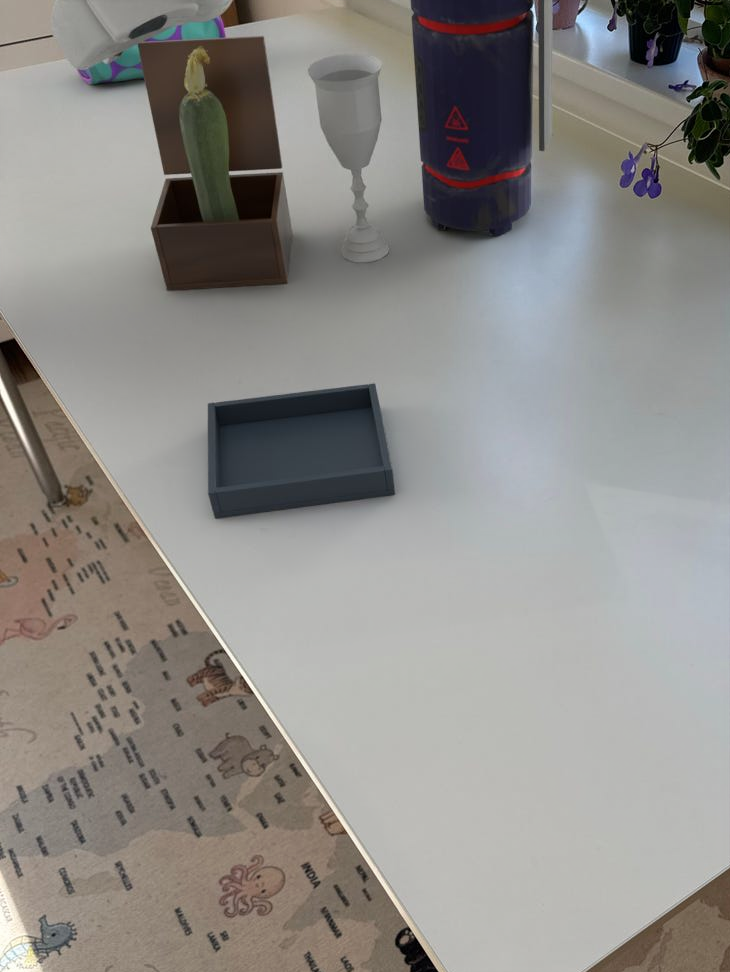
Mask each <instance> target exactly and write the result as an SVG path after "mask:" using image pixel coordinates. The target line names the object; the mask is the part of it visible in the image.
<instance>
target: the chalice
mask: <svg viewBox="0 0 730 972" xmlns="http://www.w3.org/2000/svg"><path fill="white" fill-rule="evenodd" d="M382 67H383V62H382V61H381V60H380V59H379V58H377V57H375V56H372V55H369V54H362V53H344V54H336V55H332V56H327V57H324V58H321V59H319V60H316V61H314V62H313V63H311V64H310V65H309V66H308V68H307V74H308V76H309V77H310V79H311V80H312V82H313V84H314V88H315V95H316V104H317V111H318V120H319V126H320V129H321V131H322V133H323V135H324V137H325V140H326V142H327V144H328V146H329V148H330V150H332V153H333V154H334V156H335V157H336V159H337V161H338V162H339V165H341V167H342V168H343V169H345V170H349V171H350V172H351V176H352V180H351V185H350V187H349V188H350V191H351V192H352V193H353V196H354V201H353V203H352V205H351V208H352V209H353V211H355V215H356V223H355V224H354V225H353V226H351V227H350V228H349V229H348V230H347V232H346V234H345V238H344V241H343V246H342V249H341V251H340V254H341V256H342V257H343V258H344V259H345V260H348V261H349V262H353V263H373V262H375V261H379V260H382V259H383V258H384V257H386V256H387V254H389V251H390V248H389V246H388V244H387V243H386V242H385V238H384V236H382V233H381V231H380V230H379V228H377V226H375V225H373V224H371V223H370V222H369V221H368V220H367V217H366V216H367V215H366V214H367V209H368V208H369V206H370V205H369V203H368V202H367V201H366V200H365V197H364V195H365V190H366V188H367V186H366V185H365V183H364V181H363V178H362V171H363V169H364V168H366V167H367V166H369V165H370V163H371V159H372V156H373V154H374V150H375V148H376V145H377V142H378V138H379V135H380V129H381V124H382V109H381V97H380V87H379V85H380V84H379V76H380V73H381V70H382Z"/></svg>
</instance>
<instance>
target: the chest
mask: <svg viewBox="0 0 730 972" xmlns="http://www.w3.org/2000/svg"><path fill="white" fill-rule="evenodd" d="M229 178H230V185H231V190H232V194H233V197H234V200H235V204H236V208H237V213H238V217H239V220H233V221H215V222H203V219H202V216H201V212H200V208H199V203H198V199H197V194H196V190H195V186H194V182H193V179H192V176H188V177H187V176H186V177H184V176H183V177H170V178H169V177H168V178H165V180H164V183H163V186H162V189H161V193H160V196H159V198H158V203H157V206H156V209H155V212H154V216H153V219H152V223H151V225H150V231H151V234H152V239H153V242H154V246H155V251H156V254H157V257H158V261H159V265H160V269H161V272H162V276H163V277H162V278H163V281H164V285H165V288H166V290H167V291H177V290H179V291H180V290H195V289H196V290H197V289H212V288H213V289H215V288H229V287H230V288H231V287H249V286H267V285H282V284H288V281H289V280H288V279H289V270H290V269H289V268H290V259H291V251H292V250H291V249H292V239H293V227H292V221H291V215H290V208H289V203H288V195H287V190H286V183H285V177H284V172H283V171H279V172H260V173H242V174H241V173H240V174H229Z"/></svg>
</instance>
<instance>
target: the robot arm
mask: <svg viewBox="0 0 730 972" xmlns="http://www.w3.org/2000/svg"><path fill="white" fill-rule="evenodd" d="M233 1H234V0H54V4H53V8H52V12H51V17H50V22H49V29H50V33H51V36H52V38H53V39H54V41H55V42H56V45H57V46H58V48H59V49H60V51H61V52H62V54H63V56H64V57H65V58H66V60H67V61H68V63H69V65H71V66H72V67H73V68H74V69H75V70H77V69H78V70H85V69H87V68H90V67H91V66H93V65H95V64H97V63H99V62H101V61H103V62H104V63H105V64H108V63H110V62H112V61H114V60H116V59H118V58H120V57H121V54H122V52H123V51H124V50H126V49H128V48H130V47H133V46H135V45H137V44H139V43H141V42H143V41H145V40H147V39H149V38H151V37H153V36H155V35H157V34H159V33H161V32H164V31H166V30H168V29H170V28H172V27H174V26H178V25H183V24H186V23H188V22H205V21H209V20H212V19H214V18H216V17H218V16H221V15H222V14H224V13H225V12H226V11H227V9H229V7H231V4H233Z"/></svg>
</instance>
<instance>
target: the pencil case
mask: <svg viewBox="0 0 730 972" xmlns="http://www.w3.org/2000/svg"><path fill="white" fill-rule="evenodd" d="M209 38H227V35H226V30H225V25H224V22H223V19H222V17H221V15H220V16H218V17H216V18H214V19H212V20H209V21H205V22H188V23H186V24H183V25H178V26H174V27H172V28H170V29H168V30H166V31H164V32H161V33H159V34H157V35H155V36H153V37H151V38H149V39H147V40H145V41H143V42H149V41H169V40H189V39H209ZM76 71H77V73H78V74H79V76H80V77H81V78H82V80H84V82H85V83H86V84H88V85H96V84H99V83H100V84H102V83H104V84H105V83H117V82H122V81H130V80H137V79H144V74H143V69H142V65H141V60H140V55H139V50H138V45H135V46H133V47H130V48H128V49H126V50H124V51H123V52H122V54H121V57H120V58H118V59H116V60H114V61H112V62H110V63H108V64H105V63H104V62H103V61H101V62H99V63H97V64H95V65H93V66H91V67H90V68H87V69H85V70H78V69H76Z"/></svg>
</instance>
